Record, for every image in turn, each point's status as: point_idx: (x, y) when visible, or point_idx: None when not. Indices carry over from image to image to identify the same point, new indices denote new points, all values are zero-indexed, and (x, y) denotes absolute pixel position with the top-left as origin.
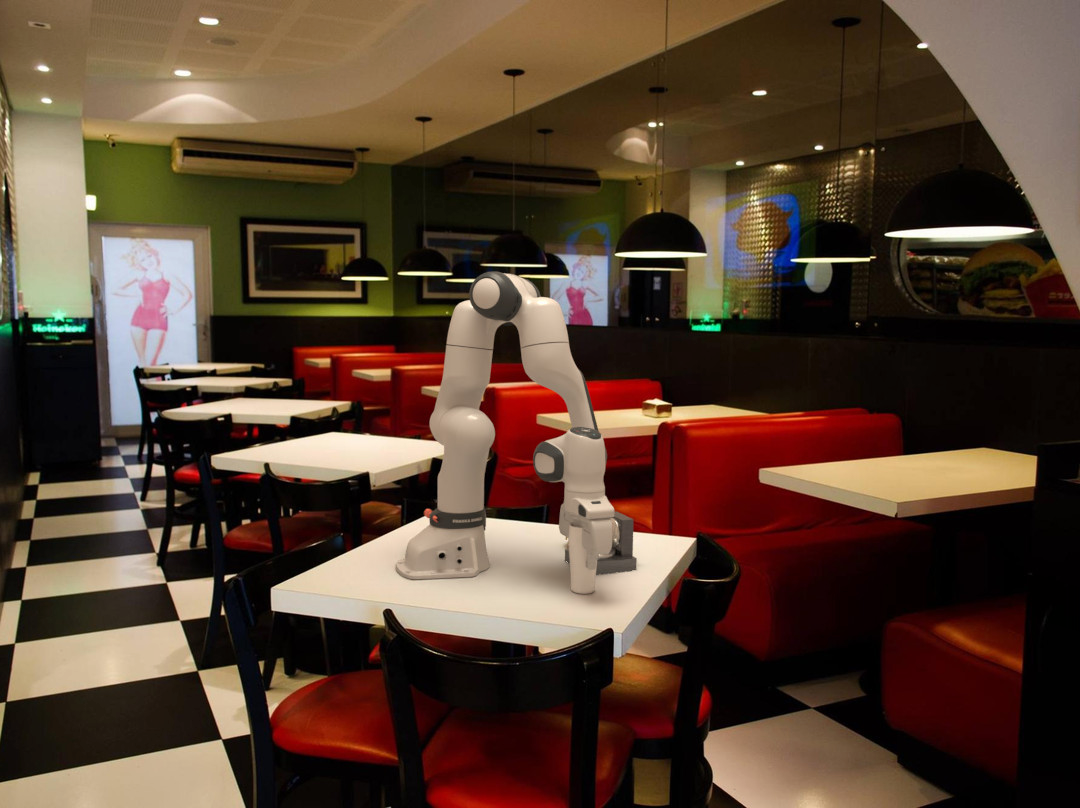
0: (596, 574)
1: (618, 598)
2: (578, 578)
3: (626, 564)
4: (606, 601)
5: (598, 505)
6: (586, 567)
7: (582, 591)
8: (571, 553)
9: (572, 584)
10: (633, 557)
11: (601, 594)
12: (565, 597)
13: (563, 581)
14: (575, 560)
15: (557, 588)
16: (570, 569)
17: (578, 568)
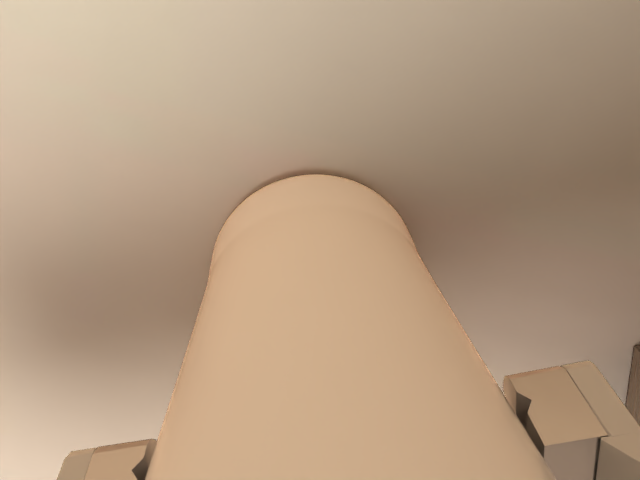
0: (627, 402)
1: (123, 427)
2: (212, 282)
3: None
4: (57, 355)
5: None
6: (138, 441)
7: (214, 247)
8: (263, 441)
9: (286, 200)
10: None
11: None
12: (161, 80)
13: (595, 160)
14: (201, 402)
15: (429, 64)
16: (335, 262)
17: (190, 354)
